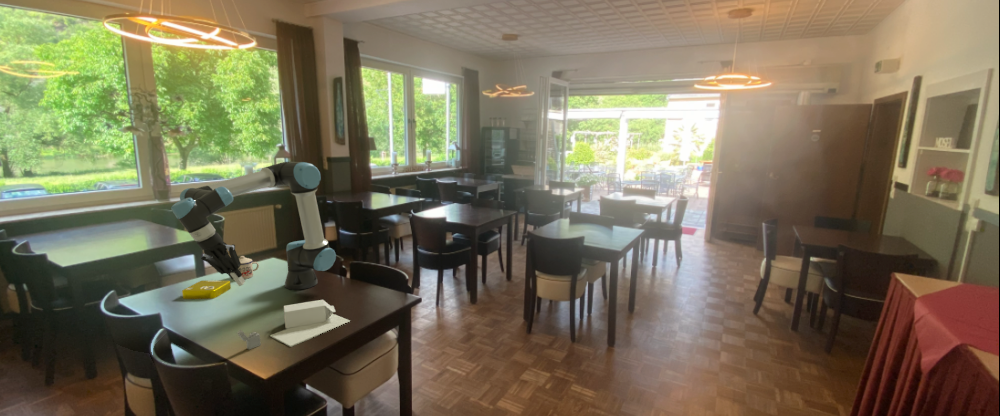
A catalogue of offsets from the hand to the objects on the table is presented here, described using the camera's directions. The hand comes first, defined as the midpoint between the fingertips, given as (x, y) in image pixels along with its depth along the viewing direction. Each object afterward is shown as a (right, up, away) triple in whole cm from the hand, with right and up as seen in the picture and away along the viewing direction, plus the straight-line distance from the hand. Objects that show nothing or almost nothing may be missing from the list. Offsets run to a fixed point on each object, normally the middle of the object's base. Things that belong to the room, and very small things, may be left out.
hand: (242, 283), depth 168 cm
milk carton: (+17, -13, -1) cm, 22 cm away
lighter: (+14, -21, -17) cm, 30 cm away
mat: (+26, -18, 0) cm, 31 cm away
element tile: (-37, -11, +33) cm, 51 cm away
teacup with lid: (-33, -7, +58) cm, 67 cm away
